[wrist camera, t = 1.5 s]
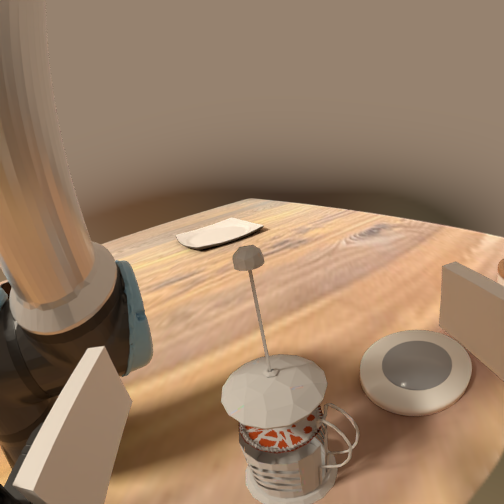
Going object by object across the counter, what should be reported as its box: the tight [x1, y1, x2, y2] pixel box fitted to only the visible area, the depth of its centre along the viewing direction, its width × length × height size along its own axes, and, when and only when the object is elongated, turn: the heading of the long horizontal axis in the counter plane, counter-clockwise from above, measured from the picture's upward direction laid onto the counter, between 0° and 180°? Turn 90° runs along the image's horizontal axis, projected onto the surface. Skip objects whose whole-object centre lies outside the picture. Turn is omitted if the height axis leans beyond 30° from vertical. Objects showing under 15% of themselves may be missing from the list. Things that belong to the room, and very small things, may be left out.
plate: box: [175, 218, 263, 250], centre depth 118 cm, size 29×29×3 cm
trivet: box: [360, 330, 472, 416], centre depth 36 cm, size 16×16×2 cm
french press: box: [221, 245, 360, 504], centre depth 22 cm, size 10×12×25 cm
